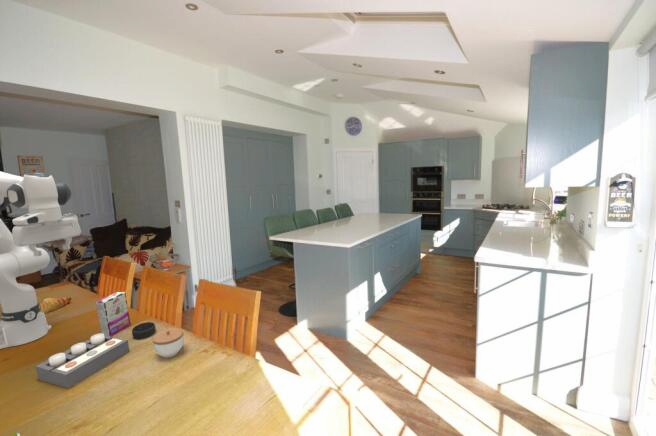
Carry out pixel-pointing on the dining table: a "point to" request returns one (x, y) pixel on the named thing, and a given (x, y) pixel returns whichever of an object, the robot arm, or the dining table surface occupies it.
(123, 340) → the button board
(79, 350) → the button
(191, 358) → the dining table surface
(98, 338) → the button
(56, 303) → the croissant
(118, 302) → the candy bar box
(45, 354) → the dining table surface
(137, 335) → the smart speaker
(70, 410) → the dining table surface
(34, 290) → the robot arm
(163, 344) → the lidded jar
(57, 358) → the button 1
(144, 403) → the dining table surface
